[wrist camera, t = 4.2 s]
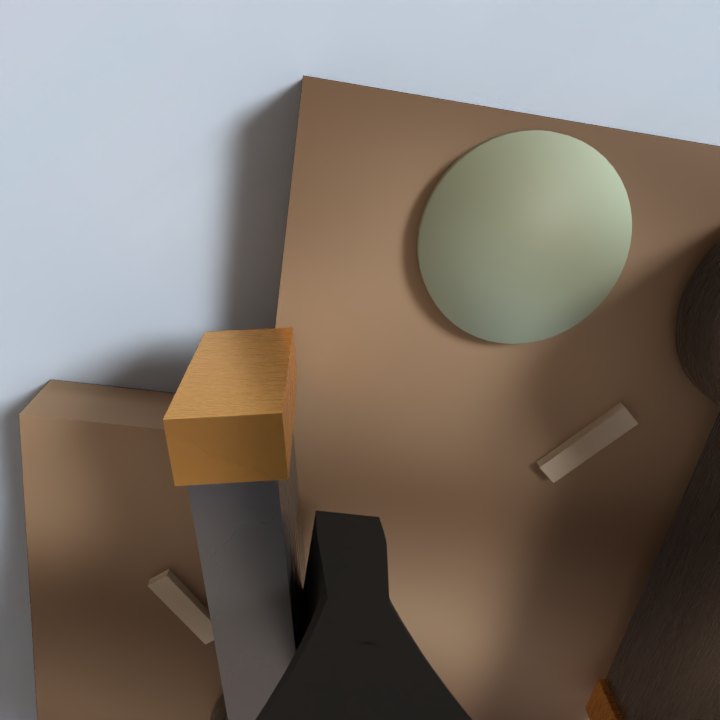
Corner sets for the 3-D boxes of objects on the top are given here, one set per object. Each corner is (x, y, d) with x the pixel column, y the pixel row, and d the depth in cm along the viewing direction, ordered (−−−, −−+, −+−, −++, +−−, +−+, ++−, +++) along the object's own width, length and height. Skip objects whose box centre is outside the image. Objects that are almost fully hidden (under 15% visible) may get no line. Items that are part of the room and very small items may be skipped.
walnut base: (636, 760, 19) (666, 824, 17) (64, 727, 17) (36, 796, 16) (918, 180, 12) (1008, 195, 11) (37, 30, 11) (-15, 21, 9)
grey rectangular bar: (381, 775, 16) (397, 969, 12) (220, 787, 16) (191, 986, 12) (365, 320, 11) (384, 428, 8) (133, 332, 11) (44, 448, 7)
